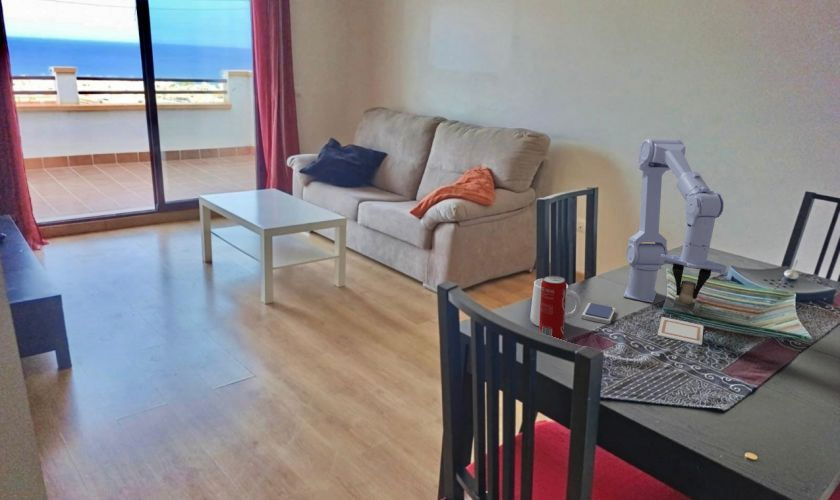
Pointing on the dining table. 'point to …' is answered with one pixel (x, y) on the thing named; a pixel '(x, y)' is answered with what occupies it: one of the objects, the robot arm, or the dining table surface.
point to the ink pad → (598, 313)
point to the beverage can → (552, 306)
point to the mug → (537, 297)
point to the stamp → (686, 296)
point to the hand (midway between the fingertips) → (686, 295)
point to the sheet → (681, 331)
